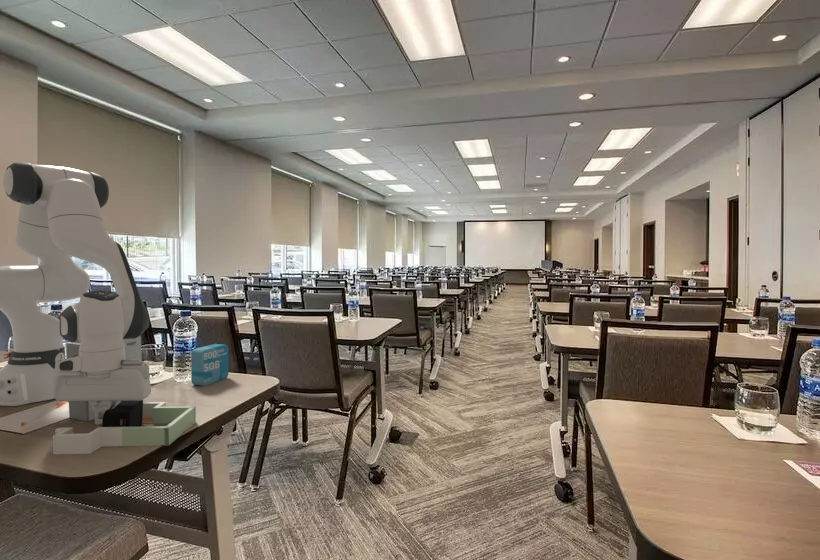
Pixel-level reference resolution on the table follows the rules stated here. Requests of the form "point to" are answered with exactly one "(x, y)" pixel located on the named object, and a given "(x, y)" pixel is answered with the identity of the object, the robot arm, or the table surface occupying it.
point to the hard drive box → (86, 412)
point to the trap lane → (129, 431)
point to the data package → (209, 364)
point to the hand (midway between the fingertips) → (104, 418)
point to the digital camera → (124, 415)
